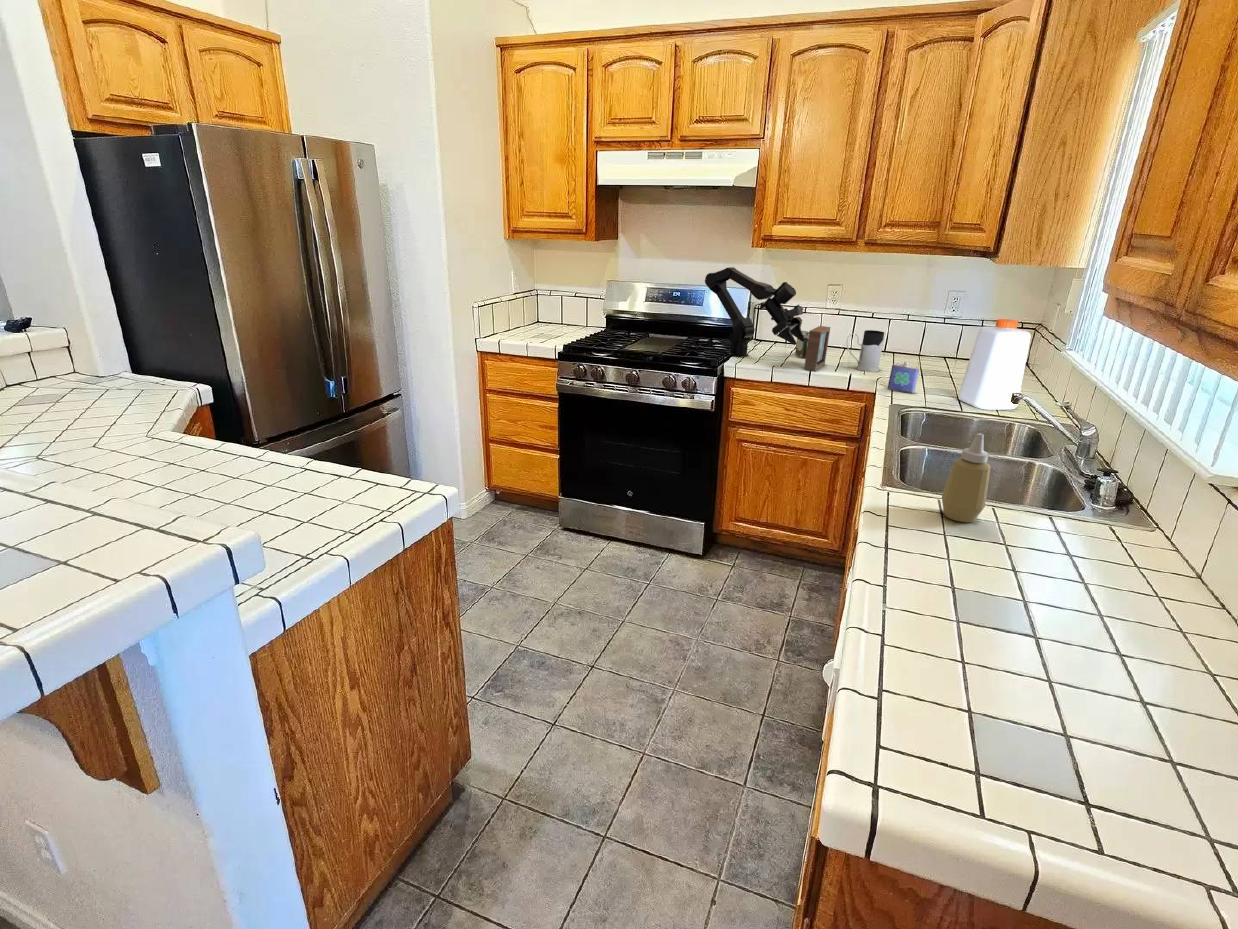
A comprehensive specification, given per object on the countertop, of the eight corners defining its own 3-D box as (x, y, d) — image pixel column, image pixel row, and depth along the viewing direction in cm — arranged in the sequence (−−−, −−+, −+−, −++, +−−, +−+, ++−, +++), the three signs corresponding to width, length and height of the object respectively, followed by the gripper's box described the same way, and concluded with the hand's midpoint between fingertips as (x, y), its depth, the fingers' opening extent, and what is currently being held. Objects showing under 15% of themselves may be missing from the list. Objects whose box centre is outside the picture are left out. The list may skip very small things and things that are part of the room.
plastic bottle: (991, 398, 226) (1012, 316, 216) (1022, 410, 212) (1046, 324, 202) (951, 398, 223) (971, 316, 213) (980, 411, 210) (1003, 323, 199)
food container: (815, 359, 276) (819, 335, 272) (801, 358, 276) (804, 335, 272) (808, 353, 287) (811, 330, 284) (794, 352, 287) (797, 330, 284)
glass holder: (880, 372, 257) (887, 334, 251) (843, 369, 260) (849, 331, 254) (877, 367, 265) (884, 330, 259) (841, 364, 268) (847, 328, 262)
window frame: (815, 371, 254) (821, 331, 249) (803, 369, 256) (809, 330, 251) (824, 364, 267) (830, 327, 261) (814, 363, 269) (819, 325, 263)
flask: (915, 392, 229) (921, 362, 225) (912, 394, 227) (919, 363, 223) (888, 387, 234) (894, 358, 230) (886, 389, 232) (891, 359, 228)
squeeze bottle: (933, 517, 133) (953, 434, 126) (942, 505, 139) (962, 425, 132) (976, 529, 128) (999, 444, 122) (984, 516, 134) (1006, 434, 128)
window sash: (810, 363, 256) (814, 335, 252) (799, 362, 258) (803, 334, 254) (814, 361, 261) (818, 333, 257) (803, 359, 263) (807, 332, 259)
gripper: (783, 300, 248) (807, 332, 246) (800, 296, 262) (823, 327, 260) (761, 318, 255) (785, 350, 253) (779, 313, 269) (801, 344, 267)
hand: (799, 342), depth 258 cm, fingers open, 9 cm apart
